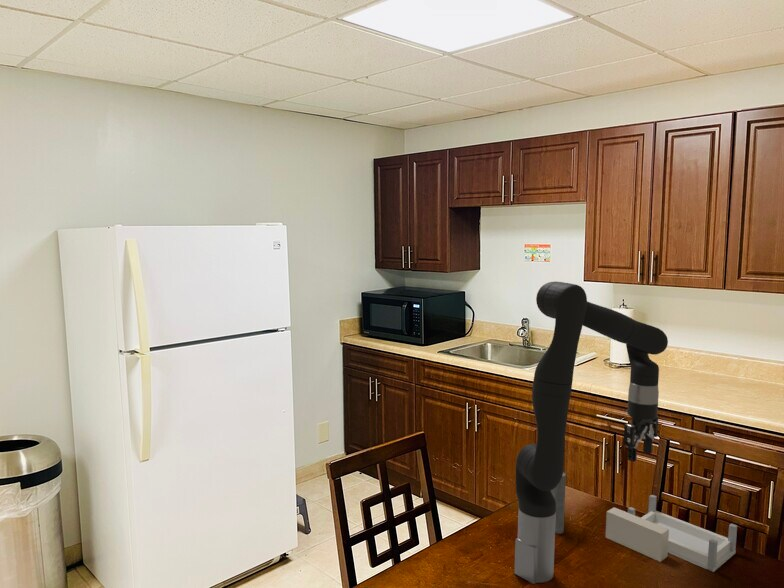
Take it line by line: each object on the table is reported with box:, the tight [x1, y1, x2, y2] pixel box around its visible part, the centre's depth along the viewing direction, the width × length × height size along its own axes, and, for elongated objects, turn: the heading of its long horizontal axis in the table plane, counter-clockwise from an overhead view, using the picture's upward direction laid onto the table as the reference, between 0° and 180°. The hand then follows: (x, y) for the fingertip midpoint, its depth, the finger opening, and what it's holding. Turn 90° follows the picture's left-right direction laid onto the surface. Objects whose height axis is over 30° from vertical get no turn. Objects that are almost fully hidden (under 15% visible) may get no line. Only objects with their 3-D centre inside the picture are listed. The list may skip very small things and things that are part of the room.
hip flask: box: [551, 471, 567, 535], centre depth 178 cm, size 16×4×20 cm, turn 1°
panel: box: [605, 507, 669, 563], centre depth 164 cm, size 4×16×8 cm, turn 39°
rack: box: [627, 494, 738, 573], centre depth 166 cm, size 14×24×8 cm, turn 39°
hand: (639, 456), depth 162 cm, fingers open, 8 cm apart
